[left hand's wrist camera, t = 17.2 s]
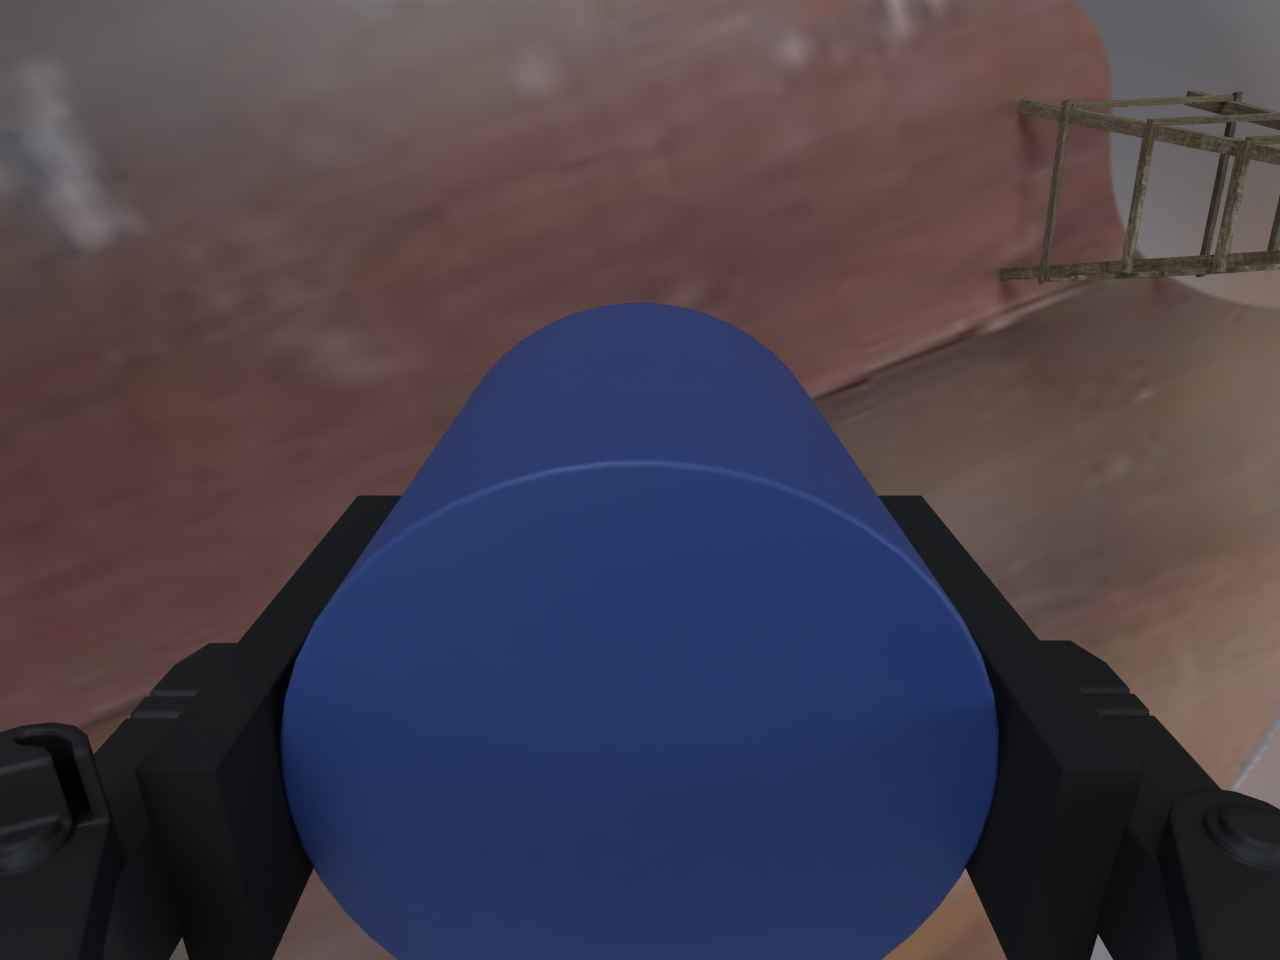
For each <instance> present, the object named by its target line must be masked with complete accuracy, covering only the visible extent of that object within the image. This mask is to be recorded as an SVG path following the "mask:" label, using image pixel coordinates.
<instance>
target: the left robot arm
mask: <svg viewBox="0 0 1280 960" xmlns="http://www.w3.org/2000/svg"><path fill="white" fill-rule="evenodd" d="M878 497H879V498H880V499H881V501H882V502H883V504H884V505H885V507H886V508H887V510H888V511H889V512H890V514H891V515H892V517H893V518H894V520H895V521H896V523H897V524H898V525H899V527H900V528H901V530H902V531H903V533H904V534H905V536H906V537H907V538H908V540H909V541H910V543H911V544H912V546H913V547H914V549H915V550H916V551H917V553H918V554H919V556H920V557H921V559H922V560H923V562H924V563H925V564H926V566H927V567H928V569H929V570H930V572H931V573H932V575H933V576H934V577H935V579H936V580H937V582H938V583H939V585H940V586H941V588H942V589H943V590H944V592H945V593H946V595H947V596H948V598H949V599H950V601H951V602H952V604H953V605H954V606H955V608H956V609H957V611H958V612H959V614H960V615H961V617H962V618H963V620H964V622H965V624H966V626H967V628H968V630H969V632H970V634H971V636H972V638H973V640H974V642H975V643H976V645H977V647H978V649H979V651H980V653H981V655H982V659H983V662H984V665H985V668H986V671H987V674H988V677H989V681H990V684H991V687H992V690H993V693H994V700H995V707H996V715H997V722H998V729H999V747H998V774H997V780H996V785H995V790H994V795H993V800H992V805H991V810H990V813H989V816H988V818H987V821H986V824H985V827H984V829H983V832H982V835H981V838H980V840H979V843H978V845H977V847H976V849H975V851H974V853H973V855H972V856H971V858H970V860H969V862H968V864H967V866H966V870H967V872H968V874H969V876H970V878H971V881H972V883H973V885H974V887H975V889H976V892H977V894H978V896H979V898H980V900H981V903H982V905H983V907H984V909H985V911H986V914H987V916H988V918H989V920H990V922H991V925H992V927H993V929H994V931H995V933H996V936H997V938H998V940H999V942H1000V944H1001V947H1002V949H1003V951H1004V953H1005V955H1006V958H1007V960H1090V959H1091V955H1092V952H1093V948H1094V945H1095V941H1096V938H1097V935H1099V936H1100V938H1101V940H1102V941H1103V943H1104V945H1105V946H1106V948H1107V950H1108V952H1109V953H1110V955H1111V957H1112V958H1113V960H1280V809H1278V808H1276V807H1274V806H1273V805H1271V804H1269V803H1267V802H1264V801H1261V800H1258V799H1255V798H1252V797H1249V796H1246V795H1244V794H1241V793H1238V792H1233V791H1226V790H1221V789H1220V788H1219V786H1218V785H1217V784H1216V783H1215V782H1214V781H1213V780H1212V779H1211V778H1210V777H1209V775H1208V774H1207V773H1206V772H1205V771H1204V770H1203V769H1202V768H1201V767H1200V766H1199V765H1198V763H1197V762H1196V761H1195V760H1194V759H1193V758H1192V757H1191V756H1190V755H1189V754H1188V752H1187V751H1186V750H1185V749H1184V748H1183V747H1182V746H1181V745H1180V744H1179V743H1178V741H1177V740H1176V739H1175V738H1174V737H1173V736H1172V735H1171V734H1170V733H1169V732H1168V730H1167V729H1166V728H1165V727H1164V726H1163V725H1162V724H1161V723H1160V722H1159V721H1158V719H1157V718H1156V717H1155V716H1150V715H1149V710H1148V709H1147V707H1146V706H1145V705H1144V704H1143V703H1142V702H1141V701H1140V700H1139V699H1138V698H1137V696H1136V695H1135V694H1130V692H1129V688H1128V687H1127V685H1126V684H1125V683H1124V682H1123V681H1122V680H1121V679H1120V678H1119V677H1118V676H1117V674H1116V673H1115V672H1114V671H1113V670H1112V669H1111V668H1110V667H1109V666H1108V665H1107V663H1105V662H1104V661H1102V660H1101V659H1099V658H1097V657H1096V656H1094V655H1093V654H1091V653H1089V652H1088V651H1086V650H1085V649H1083V648H1081V647H1080V646H1078V645H1077V644H1075V643H1073V642H1072V641H1040V640H1039V639H1038V638H1037V637H1036V636H1035V634H1034V633H1033V632H1032V631H1031V629H1030V628H1029V627H1028V626H1027V625H1026V623H1025V622H1024V621H1023V620H1022V618H1021V617H1020V616H1019V615H1018V614H1017V612H1016V611H1015V610H1014V609H1013V607H1012V606H1011V605H1010V604H1009V602H1008V601H1007V600H1006V599H1005V598H1004V596H1003V595H1002V594H1001V593H1000V591H999V590H998V589H997V588H996V587H995V585H994V584H993V583H992V582H991V580H990V579H989V578H988V577H987V576H986V574H985V573H984V572H983V571H982V569H981V568H980V567H979V566H978V565H977V563H976V562H975V561H974V560H973V558H972V557H971V556H970V555H969V554H968V552H967V551H966V550H965V549H964V547H963V546H962V545H961V544H960V542H959V541H958V540H957V539H956V538H955V536H954V535H953V534H952V533H951V531H950V530H949V529H948V528H947V527H946V525H945V524H944V523H943V522H942V520H941V519H940V518H939V517H938V516H937V514H936V513H935V512H934V511H933V509H932V508H931V507H930V506H929V505H928V503H927V502H926V501H925V500H924V498H923V497H922V496H878ZM400 498H401V496H357V498H356V499H355V500H354V501H353V503H352V504H351V505H350V506H349V507H348V509H347V510H346V511H345V512H344V514H343V515H342V516H341V517H340V519H339V520H338V521H337V522H336V523H335V525H334V526H333V527H332V528H331V530H330V531H329V532H328V533H327V534H326V536H325V537H324V538H323V539H322V541H321V542H320V543H319V544H318V545H317V547H316V548H315V549H314V550H313V552H312V553H311V554H310V555H309V556H308V558H307V559H306V560H305V561H304V563H303V564H302V565H301V566H300V567H299V569H298V570H297V571H296V572H295V574H294V575H293V576H292V577H291V578H290V580H289V581H288V582H287V583H286V585H285V586H284V587H283V588H282V590H281V591H280V592H279V593H278V594H277V596H276V597H275V598H274V599H273V601H272V602H271V603H270V604H269V605H268V607H267V608H266V609H265V610H264V612H263V613H262V614H261V615H260V616H259V618H258V619H257V620H256V621H255V623H254V624H253V625H252V626H251V627H250V629H249V630H248V631H247V632H246V634H245V635H244V636H243V637H242V638H241V640H240V641H239V642H238V643H209V644H208V645H206V646H204V647H203V648H201V649H200V650H198V651H197V652H195V653H193V654H192V655H190V656H189V657H187V658H185V659H184V660H182V661H181V662H179V663H177V664H176V665H174V666H173V667H172V668H171V670H170V671H169V672H168V673H167V674H166V675H165V676H164V677H163V678H162V680H161V681H160V682H159V683H158V684H157V685H156V686H155V687H154V688H153V689H152V691H151V695H150V697H145V698H144V699H143V701H142V702H141V703H140V704H139V705H138V706H137V707H136V708H135V709H134V710H133V712H132V713H131V718H130V719H125V720H124V722H123V723H122V724H121V725H120V726H119V727H118V728H117V729H116V730H115V731H114V733H113V734H112V735H111V736H110V737H109V738H108V739H107V740H106V741H105V743H104V744H103V745H102V746H101V747H100V748H99V749H98V750H97V751H96V752H95V754H94V755H93V752H92V749H91V746H90V742H89V739H88V736H87V735H86V734H85V733H84V732H82V731H81V730H80V729H78V728H77V727H75V726H74V725H66V724H59V723H52V722H51V723H42V724H34V725H26V726H20V727H17V728H13V729H10V730H7V731H4V732H0V960H169V958H170V957H171V955H172V953H173V952H174V950H175V948H176V946H177V945H178V943H179V941H180V940H181V938H182V937H183V940H184V944H185V947H186V951H187V954H188V958H189V960H272V959H273V956H274V954H275V952H276V950H277V948H278V945H279V943H280V941H281V939H282V937H283V934H284V932H285V930H286V928H287V926H288V923H289V921H290V919H291V917H292V915H293V912H294V910H295V908H296V906H297V904H298V901H299V899H300V897H301V895H302V893H303V890H304V888H305V886H306V884H307V882H308V879H309V877H310V875H311V873H312V871H313V868H314V867H313V865H312V863H311V861H310V860H309V858H308V856H307V854H306V853H305V851H304V849H303V847H302V844H301V841H300V839H299V836H298V834H297V831H296V828H295V826H294V823H293V821H292V818H291V816H290V812H289V807H288V802H287V798H286V793H285V789H284V784H283V780H282V764H281V745H280V735H281V726H282V718H283V709H284V700H285V696H286V693H287V689H288V686H289V682H290V679H291V675H292V672H293V668H294V665H295V662H296V659H297V657H298V655H299V653H300V651H301V649H302V647H303V645H304V642H305V640H306V638H307V636H308V634H309V632H310V630H311V628H312V626H313V624H314V622H315V621H316V619H317V618H318V616H319V615H320V613H321V612H322V611H323V609H324V608H325V606H326V605H327V603H328V602H329V600H330V599H331V598H332V596H333V595H334V593H335V592H336V590H337V589H338V587H339V586H340V585H341V583H342V582H343V580H344V579H345V577H346V576H347V574H348V573H349V571H350V570H351V569H352V567H353V566H354V564H355V563H356V561H357V560H358V558H359V557H360V556H361V554H362V553H363V551H364V550H365V548H366V547H367V545H368V544H369V543H370V541H371V540H372V538H373V537H374V535H375V534H376V532H377V531H378V530H379V528H380V527H381V525H382V524H383V522H384V521H385V519H386V518H387V517H388V515H389V514H390V512H391V511H392V509H393V508H394V506H395V505H396V504H397V502H398V501H399V499H400Z"/></svg>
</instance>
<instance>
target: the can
mask: <svg viewBox="0 0 1280 960" xmlns="http://www.w3.org/2000/svg"><path fill="white" fill-rule="evenodd" d="M280 745H281V764H282V780H283V784H284V789H285V793H286V798H287V802H288V807H289V812H290V816H291V818H292V821H293V823H294V826H295V828H296V831H297V834H298V836H299V839H300V841H301V844H302V847H303V849H304V851H305V853H306V854H307V856H308V858H309V860H310V861H311V863H312V865H313V867H314V868H315V870H316V872H317V874H318V876H319V877H320V879H321V881H322V882H323V884H324V885H325V886H326V888H327V889H328V890H329V891H330V893H331V894H332V895H333V897H334V898H335V899H336V901H337V902H338V903H339V904H340V906H341V907H342V908H343V910H344V911H345V912H346V913H347V914H348V915H349V916H350V917H351V918H352V919H353V920H354V921H355V922H356V923H357V924H358V925H359V926H360V927H361V928H362V929H363V930H364V931H365V932H366V933H367V934H368V935H369V936H370V937H371V938H372V939H373V940H374V941H376V942H377V943H378V944H379V945H381V946H382V947H383V948H384V949H386V950H387V951H388V952H389V953H391V954H392V955H393V956H394V957H396V958H397V959H398V960H881V959H883V958H884V957H885V956H886V955H888V954H889V953H890V952H891V951H893V950H894V949H895V948H896V947H897V946H899V945H900V944H901V943H902V942H903V941H905V940H906V939H907V938H908V937H910V936H911V935H912V934H913V933H914V932H915V931H916V930H917V929H918V928H919V927H920V926H921V925H922V924H923V923H924V921H925V920H926V919H927V918H928V917H929V916H930V915H931V914H932V913H933V912H934V911H935V910H936V909H937V908H938V907H939V905H940V904H941V903H942V901H943V900H944V899H945V897H946V896H947V895H948V893H949V892H950V890H951V889H952V888H953V886H954V885H955V884H956V882H957V881H958V880H959V878H960V877H961V875H962V873H963V871H964V869H965V868H966V866H967V864H968V862H969V860H970V858H971V856H972V855H973V853H974V851H975V849H976V847H977V845H978V843H979V840H980V838H981V835H982V832H983V829H984V827H985V824H986V821H987V818H988V816H989V813H990V810H991V805H992V800H993V795H994V790H995V785H996V780H997V774H998V747H999V729H998V722H997V715H996V707H995V700H994V693H993V690H992V687H991V684H990V681H989V677H988V674H987V671H986V668H985V665H984V662H983V659H982V655H981V653H980V651H979V649H978V647H977V645H976V643H975V642H974V640H973V638H972V636H971V634H970V632H969V630H968V628H967V626H966V624H965V622H964V620H963V618H962V617H961V615H960V614H959V612H958V611H957V609H956V608H955V606H954V605H953V604H952V602H951V601H950V599H949V598H948V596H947V595H946V593H945V592H944V590H943V589H942V588H941V586H940V585H939V583H938V582H937V580H936V579H935V577H934V576H933V575H932V573H931V572H930V570H929V569H928V567H927V566H926V564H925V563H924V562H923V560H922V559H921V557H920V556H919V554H918V553H917V551H916V550H915V549H914V547H913V546H912V544H911V543H910V541H909V540H908V538H907V537H906V536H905V534H904V533H903V531H902V530H901V528H900V527H899V525H898V524H897V523H896V521H895V520H894V518H893V517H892V515H891V514H890V512H889V511H888V510H887V508H886V507H885V505H884V504H883V502H882V501H881V499H880V498H879V497H878V495H877V494H876V492H875V491H874V489H873V488H872V486H871V485H870V484H869V482H868V481H867V479H866V478H865V476H864V475H863V473H862V472H861V471H860V469H859V468H858V466H857V465H856V463H855V462H854V460H853V459H852V458H851V456H850V455H849V453H848V452H847V450H846V449H845V447H844V446H843V445H842V443H841V442H840V440H839V439H838V437H837V436H836V434H835V433H834V432H833V430H832V429H831V427H830V426H829V424H828V423H827V421H826V420H825V419H824V417H823V416H822V414H821V413H820V411H819V410H818V408H817V407H816V405H815V404H814V403H813V401H812V400H811V398H810V397H809V395H808V394H807V392H806V391H805V390H804V388H803V387H802V386H801V384H800V383H799V381H798V380H797V379H796V377H795V376H794V375H793V373H792V372H791V371H790V370H789V369H788V368H787V367H786V366H785V364H784V363H783V362H782V361H781V360H780V359H779V358H778V357H777V356H776V355H775V354H774V353H773V352H771V351H770V350H769V349H768V348H766V347H765V346H764V345H762V344H761V343H760V342H759V341H757V340H756V339H755V338H753V337H752V336H750V335H749V334H747V333H745V332H743V331H742V330H740V329H738V328H736V327H735V326H733V325H731V324H729V323H727V322H725V321H722V320H720V319H717V318H715V317H712V316H710V315H707V314H705V313H701V312H697V311H694V310H690V309H686V308H682V307H678V306H670V305H662V304H653V303H625V304H617V305H610V306H603V307H597V308H593V309H589V310H586V311H582V312H579V313H575V314H572V315H569V316H567V317H565V318H562V319H560V320H558V321H555V322H553V323H551V324H548V325H546V326H544V327H543V328H541V329H540V330H538V331H536V332H535V333H533V334H531V335H530V336H528V337H526V338H525V339H523V340H522V341H521V342H519V343H518V344H517V345H516V346H515V347H513V348H512V349H511V350H510V351H508V352H507V353H506V354H505V355H503V357H502V358H501V359H500V360H499V361H498V362H497V363H496V364H495V365H494V366H493V367H492V368H491V369H490V370H489V372H488V373H487V374H486V375H485V376H484V378H483V379H482V381H481V382H480V384H479V385H478V386H477V388H476V389H475V391H474V392H473V394H472V395H471V396H470V398H469V399H468V401H467V402H466V404H465V405H464V407H463V408H462V410H461V411H460V412H459V414H458V415H457V417H456V418H455V420H454V421H453V423H452V424H451V425H450V427H449V428H448V430H447V431H446V433H445V434H444V436H443V437H442V438H441V440H440V441H439V443H438V444H437V446H436V447H435V449H434V450H433V451H432V453H431V454H430V456H429V457H428V459H427V460H426V462H425V463H424V464H423V466H422V467H421V469H420V470H419V472H418V473H417V475H416V476H415V477H414V479H413V480H412V482H411V483H410V485H409V486H408V488H407V489H406V490H405V492H404V493H403V495H402V496H401V498H400V499H399V501H398V502H397V504H396V505H395V506H394V508H393V509H392V511H391V512H390V514H389V515H388V517H387V518H386V519H385V521H384V522H383V524H382V525H381V527H380V528H379V530H378V531H377V532H376V534H375V535H374V537H373V538H372V540H371V541H370V543H369V544H368V545H367V547H366V548H365V550H364V551H363V553H362V554H361V556H360V557H359V558H358V560H357V561H356V563H355V564H354V566H353V567H352V569H351V570H350V571H349V573H348V574H347V576H346V577H345V579H344V580H343V582H342V583H341V585H340V586H339V587H338V589H337V590H336V592H335V593H334V595H333V596H332V598H331V599H330V600H329V602H328V603H327V605H326V606H325V608H324V609H323V611H322V612H321V613H320V615H319V616H318V618H317V619H316V621H315V622H314V624H313V626H312V628H311V630H310V632H309V634H308V636H307V638H306V640H305V642H304V645H303V647H302V649H301V651H300V653H299V655H298V657H297V659H296V662H295V665H294V668H293V672H292V675H291V679H290V682H289V686H288V689H287V693H286V696H285V700H284V709H283V718H282V726H281V735H280Z"/></svg>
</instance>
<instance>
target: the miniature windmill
mask: <svg viewBox="0 0 1280 960" xmlns="http://www.w3.org/2000/svg"><path fill="white" fill-rule="evenodd" d="M1242 94H1243V92H1235V93H1233V95H1215V96H1214V95H1210V94H1206V93H1202V92H1198V91H1188V92H1187V96H1186V97H1175V98H1156V99H1135V100H1115V101H1095V102H1075V103H1072V99H1068V100H1065V101H1063V102H1062V105H1056V104H1051V103H1046V102H1041V101H1035V100H1030V99H1022V100H1021V104H1020V109H1019V113H1021V114H1026V115H1031V116H1036V117H1041V118H1046V119H1051V120H1056V121H1060V124H1059V131H1058V139H1057V146H1056V154H1055V161H1054V169H1053V176H1052V184H1051V192H1050V199H1049V207H1048V214H1047V222H1046V229H1045V237H1044V244H1043V252H1042V260H1041V266H1031V267H1016V268H1003V269H1001V280H1018V279H1034V278H1039V282H1038V284H1043V283H1045V282H1054V281H1076V280H1097V279H1119V278H1141V277H1162V276H1184V275H1196V277H1202V276H1205V274H1220V273H1236V272H1249V271H1263V270H1278V269H1280V250H1279V246H1280V197H1279V201H1278V205H1277V210H1276V214H1275V219H1274V223H1273V227H1272V231H1271V236H1270V240H1269V244H1268V249H1267V251H1263V252H1248V253H1232V254H1229V253H1230V248H1231V244H1232V239H1233V234H1234V230H1235V225H1236V221H1237V216H1238V211H1239V207H1240V202H1241V197H1242V193H1243V188H1244V183H1245V179H1246V174H1247V169H1248V165H1249V160H1250V159H1252V160H1257V161H1262V162H1267V163H1272V164H1277V165H1280V147H1277V146H1272V145H1267V144H1280V135H1278V136H1258V137H1246V140H1240V139H1235V138H1234V133H1235V128H1236V123H1237V122H1252V123H1255V124H1259V125H1263V126H1266V127H1270V128H1274V129H1277V130H1280V112H1276V111H1272V110H1268V109H1264V108H1260V107H1257V106H1253V105H1249V104H1245V103H1241V99H1242ZM1168 104H1184V105H1187V106H1191V107H1195V108H1199V109H1202V110H1206V111H1210V112H1213V113H1217V114H1221V115H1223V116H1203V117H1183V118H1162V119H1148V120H1147V122H1146V121H1140V120H1135V119H1130V118H1124V117H1119V116H1114V115H1109V114H1104V113H1098V112H1093V111H1088V110H1083V109H1087V108H1107V107H1127V106H1147V105H1168ZM1069 123H1071V124H1076V125H1081V126H1086V127H1091V128H1096V129H1101V130H1106V131H1111V132H1116V133H1122V134H1127V135H1131V136H1136V137H1141V138H1142V144H1141V150H1140V156H1139V162H1138V168H1137V174H1136V180H1135V186H1134V192H1133V198H1132V204H1131V209H1130V215H1129V221H1128V227H1127V233H1126V239H1125V245H1124V251H1123V257H1122V261H1109V262H1093V263H1078V264H1062V265H1050V261H1051V253H1052V246H1053V239H1054V231H1055V224H1056V217H1057V209H1058V202H1059V195H1060V187H1061V180H1062V173H1063V165H1064V158H1065V151H1066V143H1067V136H1068V129H1069ZM1206 123H1227V124H1226V129H1225V134H1224V136H1219V135H1214V134H1208V133H1204V132H1198V131H1193V130H1188V129H1183V128H1177V127H1172V126H1167V125H1186V124H1206ZM1154 140H1157V141H1162V142H1166V143H1171V144H1176V145H1182V146H1187V147H1191V148H1197V149H1202V150H1207V151H1212V152H1217V153H1221V154H1220V159H1219V164H1218V169H1217V174H1216V179H1215V184H1214V189H1213V194H1212V199H1211V204H1210V208H1209V213H1208V219H1207V223H1206V228H1205V233H1204V239H1203V243H1202V248H1201V253H1200V256H1186V257H1171V258H1155V259H1140V260H1134V254H1135V248H1136V242H1137V236H1138V231H1139V225H1140V219H1141V213H1142V208H1143V202H1144V196H1145V190H1146V185H1147V179H1148V173H1149V167H1150V161H1151V156H1152V150H1153V144H1154ZM1230 155H1232V156H1235V160H1234V165H1233V170H1232V175H1231V179H1230V184H1229V189H1228V194H1227V199H1226V203H1225V208H1224V213H1223V218H1222V223H1221V228H1220V232H1219V237H1218V242H1217V247H1216V251H1215V255H1209V254H1210V249H1211V244H1212V240H1213V235H1214V230H1215V225H1216V220H1217V215H1218V210H1219V205H1220V201H1221V195H1222V191H1223V186H1224V181H1225V176H1226V172H1227V167H1228V161H1229V157H1230Z"/></svg>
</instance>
